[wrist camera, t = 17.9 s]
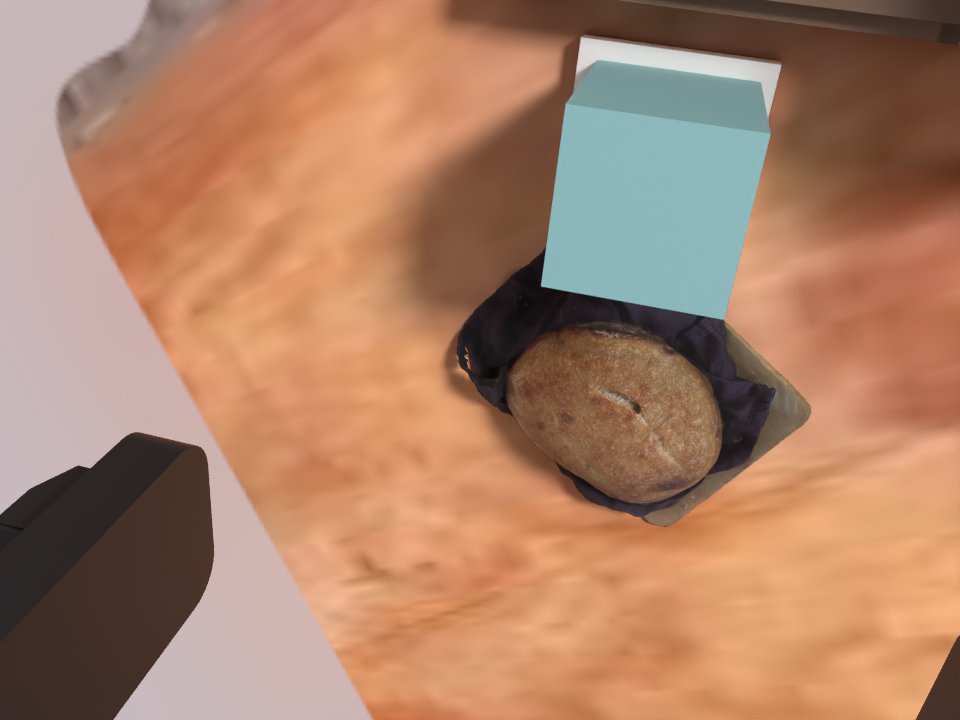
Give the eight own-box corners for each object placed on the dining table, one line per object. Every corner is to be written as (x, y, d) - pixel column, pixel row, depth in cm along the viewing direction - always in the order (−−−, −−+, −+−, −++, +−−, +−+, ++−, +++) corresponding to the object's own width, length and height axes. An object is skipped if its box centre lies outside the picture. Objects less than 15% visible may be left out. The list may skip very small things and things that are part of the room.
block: (575, 211, 27) (540, 286, 22) (598, 59, 25) (565, 103, 20) (724, 236, 26) (724, 319, 21) (760, 82, 24) (770, 133, 19)
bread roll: (829, 395, 29) (843, 457, 26) (651, 530, 34) (644, 597, 30) (590, 183, 28) (574, 220, 25) (435, 351, 32) (404, 401, 29)
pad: (583, 34, 25) (580, 37, 25) (780, 61, 24) (781, 65, 24) (557, 216, 28) (554, 222, 27) (734, 246, 27) (734, 253, 27)
